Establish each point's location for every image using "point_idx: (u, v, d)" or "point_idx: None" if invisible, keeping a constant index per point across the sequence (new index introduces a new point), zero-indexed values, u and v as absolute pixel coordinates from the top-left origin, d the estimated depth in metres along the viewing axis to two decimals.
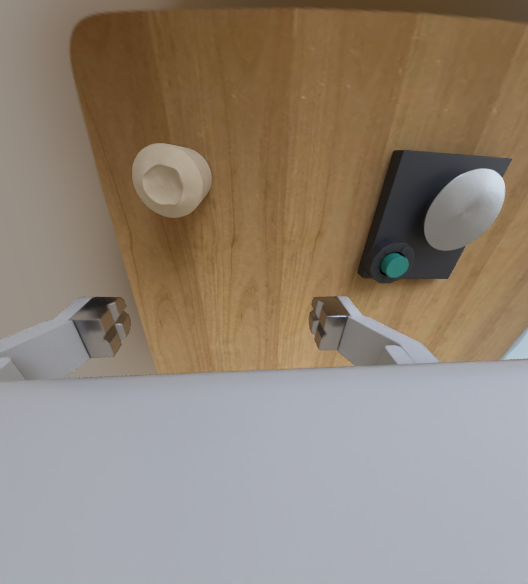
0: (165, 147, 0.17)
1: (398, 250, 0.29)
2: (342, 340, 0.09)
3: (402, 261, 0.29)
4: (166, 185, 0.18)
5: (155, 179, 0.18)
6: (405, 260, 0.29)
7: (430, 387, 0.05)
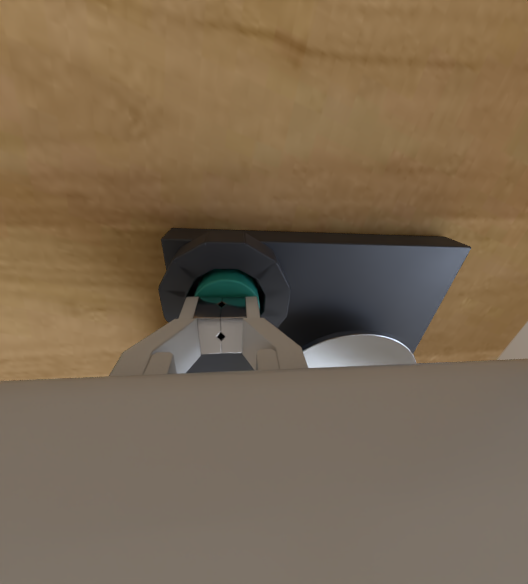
0: None
1: (268, 306, 0.11)
2: (243, 343, 0.09)
3: None
4: None
5: None
6: None
7: (430, 387, 0.05)
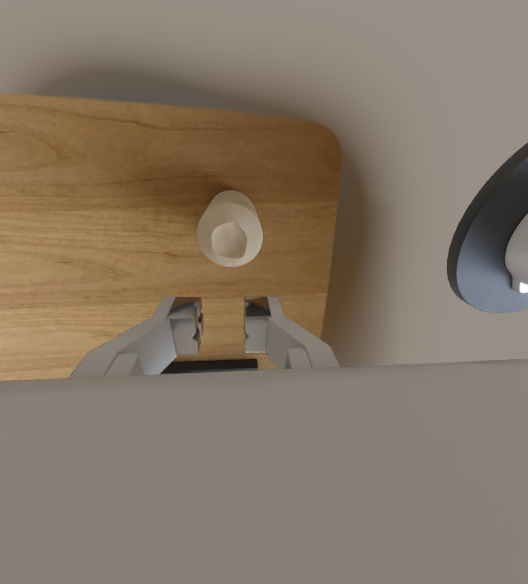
0: (259, 242, 0.19)
1: None
2: (266, 342, 0.09)
3: None
4: (229, 239, 0.18)
5: (233, 230, 0.18)
6: None
7: (430, 387, 0.05)
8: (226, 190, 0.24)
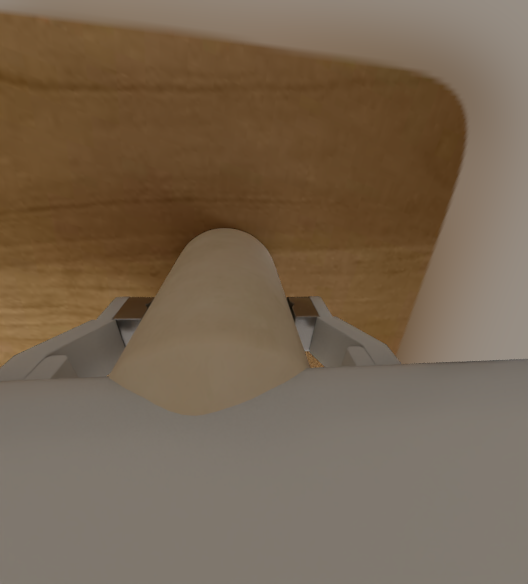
0: None
1: None
2: (312, 341, 0.09)
3: None
4: None
5: None
6: None
7: (430, 387, 0.05)
8: (214, 229, 0.11)
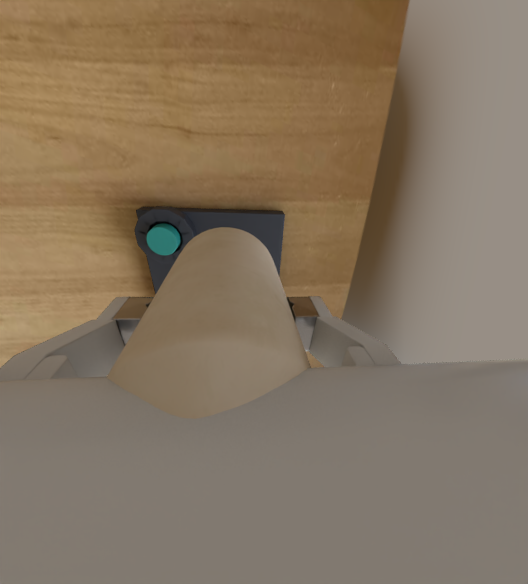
0: None
1: (184, 239, 0.24)
2: (312, 341, 0.09)
3: (171, 245, 0.23)
4: None
5: None
6: (173, 248, 0.23)
7: (430, 387, 0.05)
8: (214, 228, 0.11)
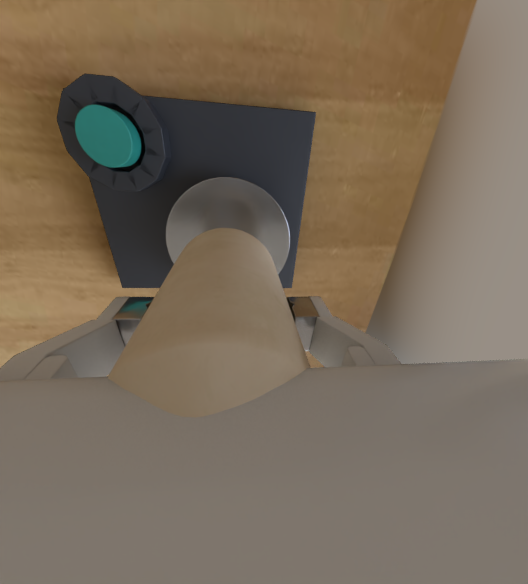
0: None
1: (147, 144, 0.14)
2: (312, 341, 0.09)
3: (122, 145, 0.13)
4: None
5: None
6: (126, 153, 0.13)
7: (430, 387, 0.05)
8: (214, 229, 0.11)
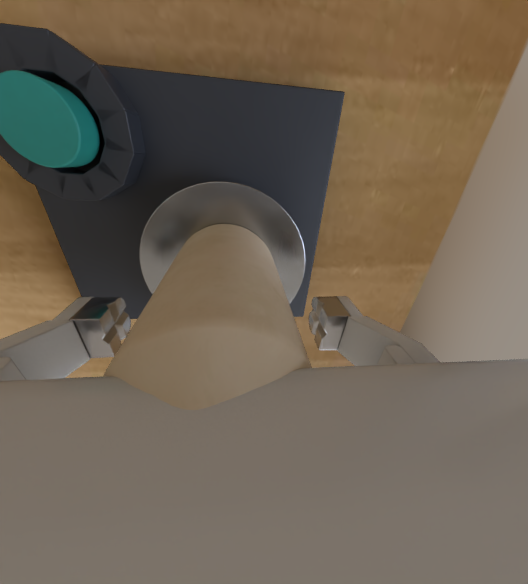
0: None
1: (106, 134, 0.10)
2: (342, 340, 0.09)
3: (64, 135, 0.09)
4: None
5: None
6: (72, 146, 0.09)
7: (430, 387, 0.05)
8: (214, 225, 0.12)
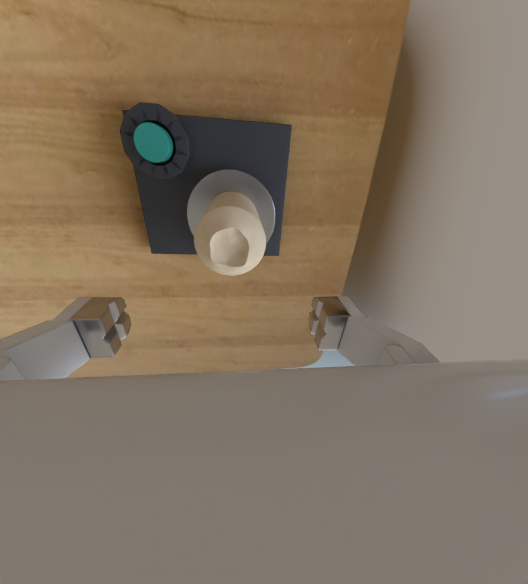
0: (262, 248, 0.18)
1: (177, 147, 0.21)
2: (342, 340, 0.09)
3: (162, 148, 0.20)
4: (229, 245, 0.17)
5: (234, 236, 0.16)
6: (165, 153, 0.20)
7: (430, 387, 0.05)
8: None
